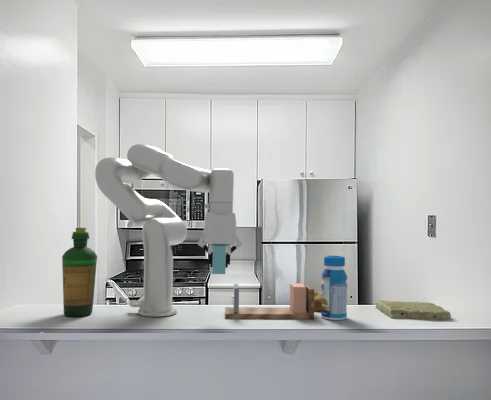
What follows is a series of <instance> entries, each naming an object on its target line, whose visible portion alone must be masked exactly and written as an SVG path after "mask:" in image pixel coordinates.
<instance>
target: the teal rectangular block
mask: <svg viewBox="0 0 491 400" xmlns="http://www.w3.org/2000/svg"><path fill="white" fill-rule="evenodd" d="M212 252H213V261H212V267H211V268H212V269H211V273H212V274H213V275H226V269H227V268H226V252H227V248H226V245H213V249H212ZM212 274H211V275H212Z"/></svg>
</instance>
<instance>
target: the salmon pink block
mask: <svg viewBox="0 0 491 400" xmlns="http://www.w3.org/2000/svg"><path fill="white" fill-rule="evenodd" d="M289 308H290V309H291V311H292V312H293V314H306V287H305V286H304V284H303V283H300V282H299V283H297V282H296V283H295V282H294V283H292V282H291V283H289Z"/></svg>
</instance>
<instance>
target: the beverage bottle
mask: <svg viewBox="0 0 491 400" xmlns="http://www.w3.org/2000/svg"><path fill="white" fill-rule="evenodd" d="M323 265H324V267H325V269H323V271H322V273H321V279H322V280H321V284H320V287H321V292H322V311H320V313H321V315H320V316H321V318H323V319H325V320H329V321H343V320H346V319H347V315H348V313H347V310H348V309H347V303H348V302H347V301H348V300H347V297H348V295H347V293H348V292H347V291H348V283H347V279H348V277H347V276H348V275H347V273H346V271H345V270H344V267H345V266H346V257H345V256H343V255H324V258H323Z"/></svg>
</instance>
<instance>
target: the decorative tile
mask: <svg viewBox="0 0 491 400" xmlns="http://www.w3.org/2000/svg"><path fill="white" fill-rule="evenodd" d="M375 309H377V310H379V311H380V312H381V313H382V314H384V315H385V316H387V317H388V318H389V319H406V320H407V319H410V320H421V321H425V320H427V321H452V316H451V312H450V311H448V310H446V309H444V308H443V307H442V306H441V305H436V304H435V303H433V302H426V301H425V302H424V301H421V302H420V301H398V300H396V301H393V300H392V301H388V300H378V301H376V302H375Z"/></svg>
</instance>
